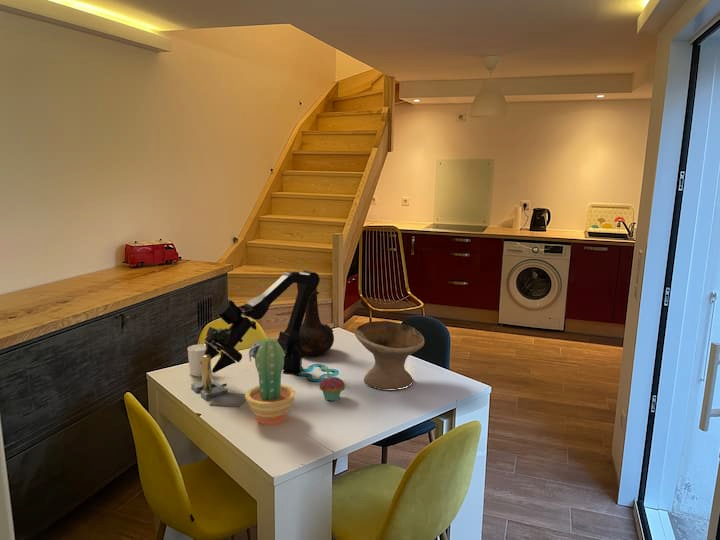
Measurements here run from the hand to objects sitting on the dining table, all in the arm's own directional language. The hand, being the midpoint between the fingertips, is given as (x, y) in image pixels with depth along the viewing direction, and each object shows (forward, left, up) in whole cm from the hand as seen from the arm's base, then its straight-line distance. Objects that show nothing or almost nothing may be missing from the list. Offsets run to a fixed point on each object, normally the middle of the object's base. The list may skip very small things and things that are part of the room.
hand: (206, 368), depth 179 cm
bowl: (-61, -20, -9) cm, 65 cm away
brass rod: (0, 0, -8) cm, 8 cm away
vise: (-1, -1, -9) cm, 9 cm away
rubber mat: (-10, +5, -8) cm, 14 cm away
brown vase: (-27, -48, -9) cm, 56 cm away
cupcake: (-43, -2, -9) cm, 44 cm away
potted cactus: (-27, +16, -9) cm, 32 cm away
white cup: (+10, -17, -9) cm, 22 cm away
